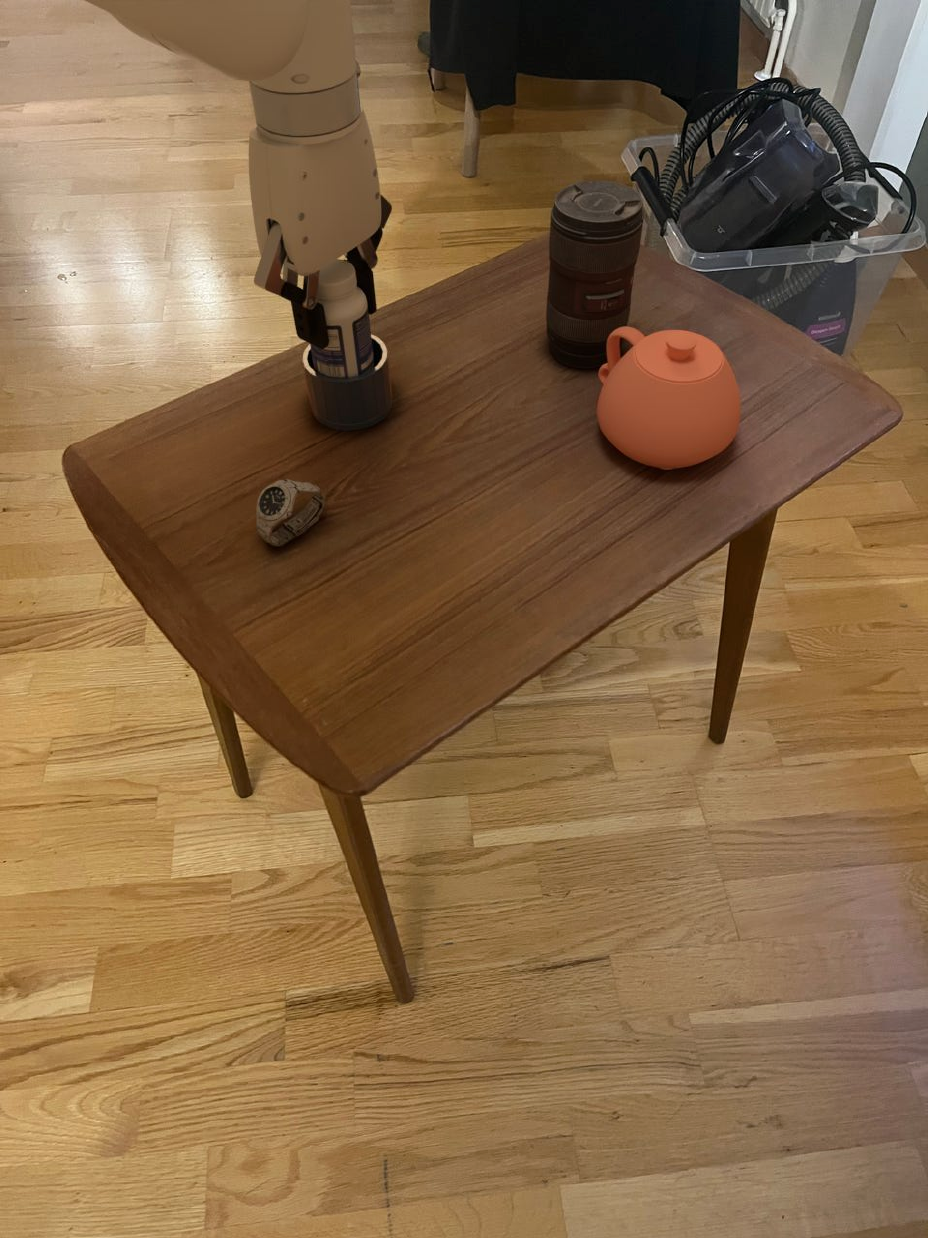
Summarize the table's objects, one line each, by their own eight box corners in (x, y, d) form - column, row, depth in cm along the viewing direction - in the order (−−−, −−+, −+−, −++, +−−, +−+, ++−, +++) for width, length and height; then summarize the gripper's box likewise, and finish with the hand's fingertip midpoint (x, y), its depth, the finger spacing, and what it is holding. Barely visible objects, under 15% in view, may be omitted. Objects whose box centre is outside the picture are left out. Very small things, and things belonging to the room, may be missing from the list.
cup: (294, 410, 85) (284, 361, 81) (348, 369, 89) (341, 320, 85) (356, 442, 82) (348, 392, 78) (409, 398, 86) (404, 348, 82)
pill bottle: (361, 347, 84) (349, 247, 77) (383, 378, 81) (374, 278, 74) (306, 363, 83) (289, 263, 75) (327, 395, 80) (311, 295, 72)
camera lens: (636, 334, 91) (658, 186, 80) (609, 381, 87) (628, 231, 75) (560, 316, 94) (571, 169, 82) (530, 360, 89) (537, 212, 77)
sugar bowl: (670, 504, 76) (692, 407, 68) (552, 425, 83) (559, 327, 75) (761, 438, 81) (790, 340, 73) (642, 368, 88) (657, 271, 80)
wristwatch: (253, 538, 75) (240, 494, 71) (312, 500, 78) (302, 456, 74) (279, 561, 73) (267, 517, 70) (338, 521, 76) (330, 477, 72)
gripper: (347, 49, 70) (369, 267, 84) (178, 130, 62) (235, 358, 76) (423, 72, 67) (433, 294, 81) (257, 160, 59) (301, 391, 73)
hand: (337, 322), depth 78 cm, fingers closed on pill bottle, 5 cm apart
